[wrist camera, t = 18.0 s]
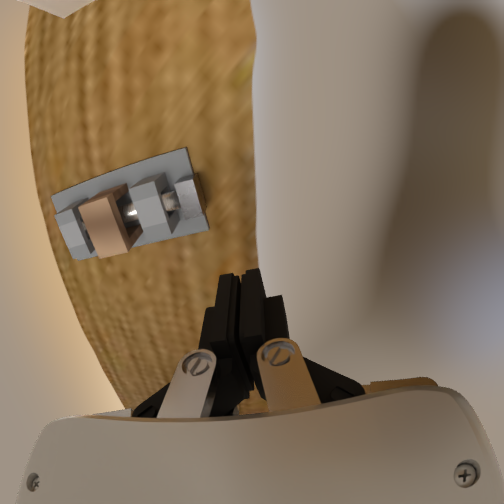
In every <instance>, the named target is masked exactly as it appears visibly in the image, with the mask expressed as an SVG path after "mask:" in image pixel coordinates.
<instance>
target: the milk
mask: <svg viewBox="0 0 504 504" xmlns="http://www.w3.org/2000/svg"><path fill="white" fill-rule="evenodd" d="M17 1H20V2H23V3H26V4H28V5H31V6H34V7H36V8H39V9H42V10H44V11H47V12H49V13H51V14H54V15H56V16H59V17H61V18H63V19H64V18H65V17H67V16H69V15H70V14H72V13H74V12H75V11H77V10H79V9H80V8H82V7H84V6H86V5H88V4H89V3H91V2H93V1H95V0H17Z"/></svg>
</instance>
